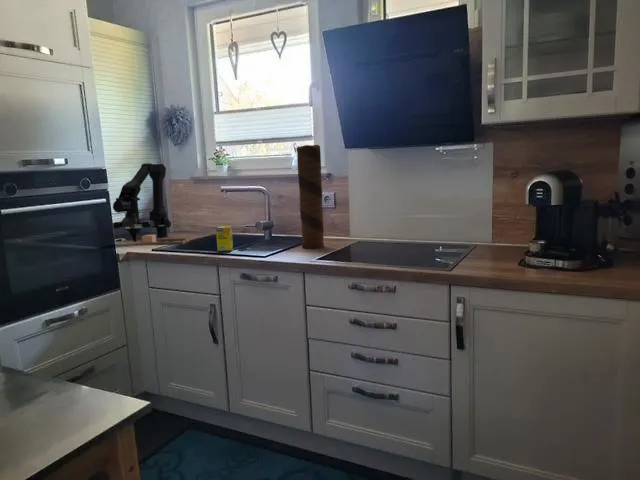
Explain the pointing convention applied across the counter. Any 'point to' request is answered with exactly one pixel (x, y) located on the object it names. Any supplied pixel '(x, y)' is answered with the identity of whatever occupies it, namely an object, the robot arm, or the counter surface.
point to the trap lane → (167, 242)
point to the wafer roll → (310, 195)
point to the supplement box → (224, 239)
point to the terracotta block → (148, 238)
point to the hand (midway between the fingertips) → (135, 241)
